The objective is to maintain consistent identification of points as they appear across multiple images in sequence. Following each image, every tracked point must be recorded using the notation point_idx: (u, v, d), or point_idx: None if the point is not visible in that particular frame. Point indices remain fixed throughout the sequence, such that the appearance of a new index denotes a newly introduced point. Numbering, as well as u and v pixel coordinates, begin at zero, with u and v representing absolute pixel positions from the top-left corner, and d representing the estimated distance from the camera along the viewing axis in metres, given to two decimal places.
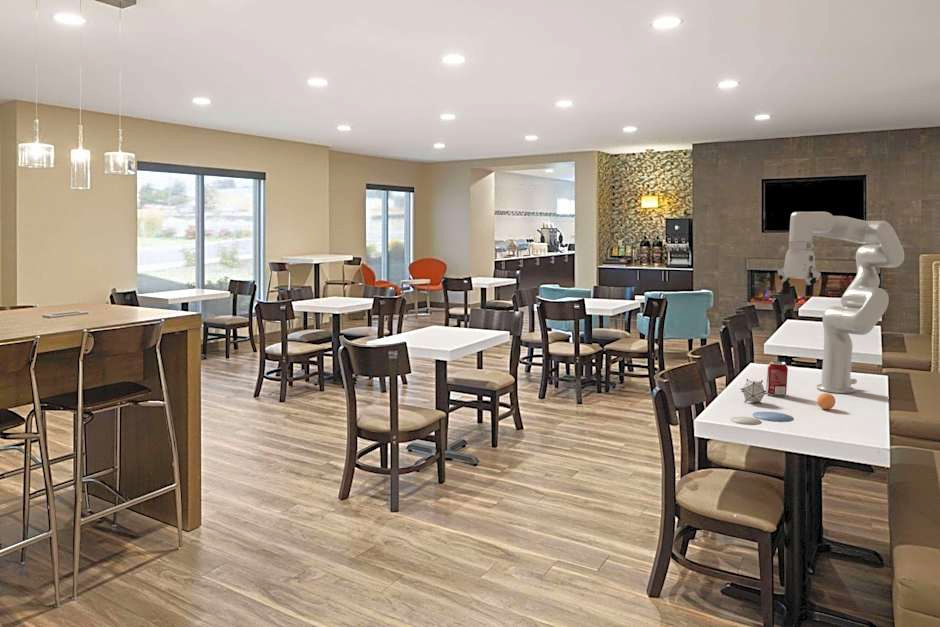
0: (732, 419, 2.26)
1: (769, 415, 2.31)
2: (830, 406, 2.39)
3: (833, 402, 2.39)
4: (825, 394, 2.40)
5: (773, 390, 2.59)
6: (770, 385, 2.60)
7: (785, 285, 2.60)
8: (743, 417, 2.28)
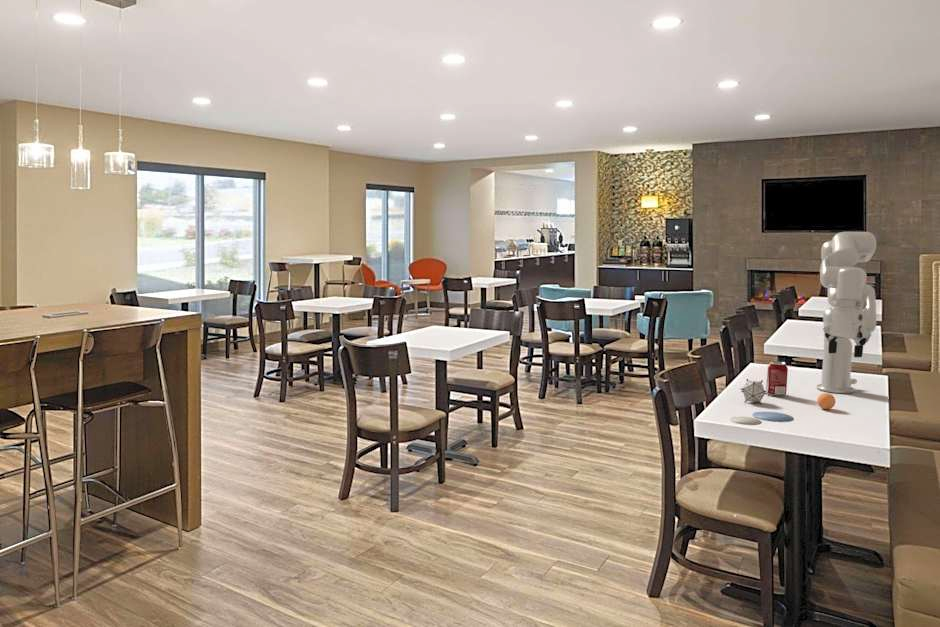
0: (732, 419, 2.26)
1: (769, 415, 2.31)
2: (830, 406, 2.39)
3: (833, 402, 2.39)
4: (825, 394, 2.40)
5: (773, 390, 2.59)
6: (770, 385, 2.60)
7: (832, 344, 2.47)
8: (743, 417, 2.28)
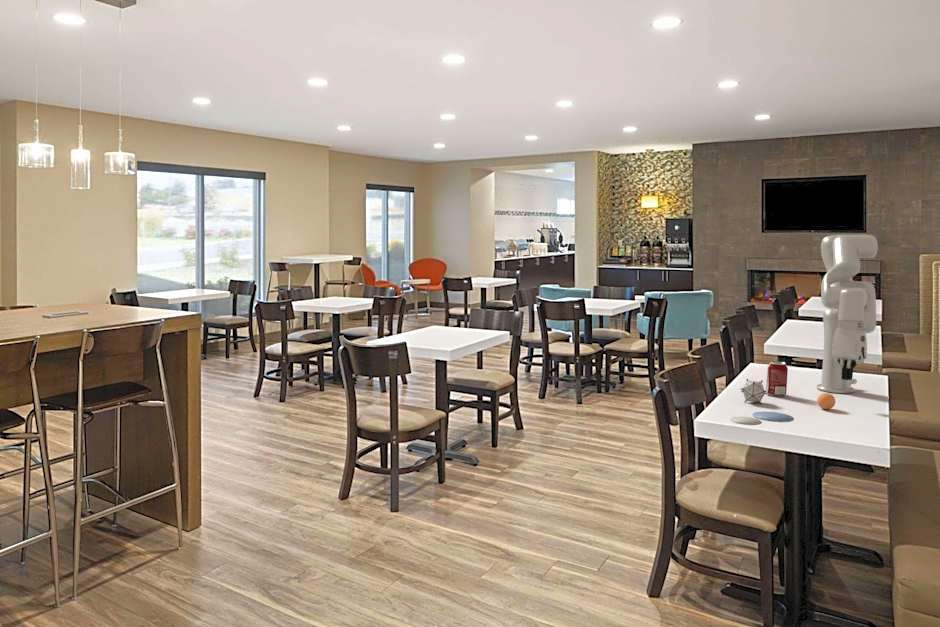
0: (732, 419, 2.26)
1: (769, 415, 2.31)
2: (830, 406, 2.39)
3: (833, 402, 2.39)
4: (825, 394, 2.40)
5: (773, 390, 2.59)
6: (770, 385, 2.60)
7: None
8: (743, 417, 2.28)
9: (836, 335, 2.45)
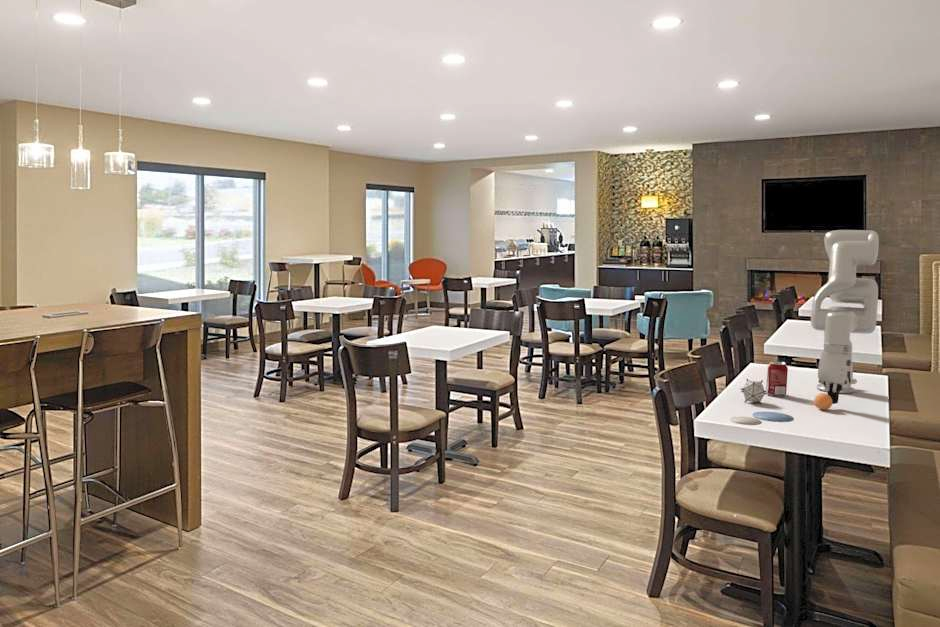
0: (732, 419, 2.26)
1: (769, 415, 2.31)
2: (828, 407, 2.38)
3: (830, 402, 2.38)
4: (821, 396, 2.39)
5: (773, 390, 2.59)
6: (770, 385, 2.60)
7: None
8: (743, 417, 2.28)
9: (822, 358, 2.43)
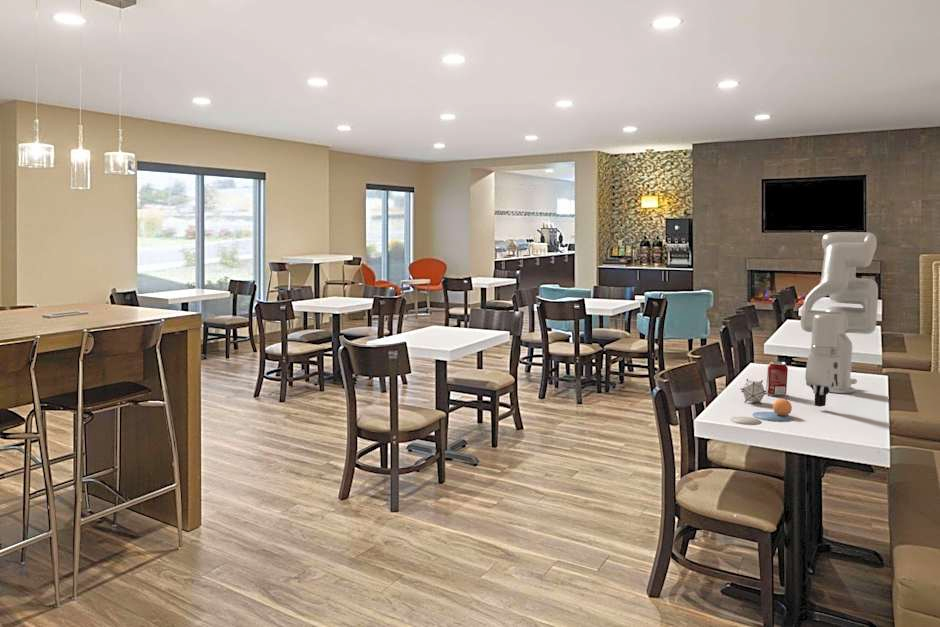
0: (732, 419, 2.26)
1: (769, 415, 2.31)
2: (789, 412, 2.30)
3: (789, 409, 2.29)
4: (777, 408, 2.30)
5: (773, 390, 2.59)
6: (770, 385, 2.60)
7: None
8: (743, 417, 2.28)
9: (809, 361, 2.40)
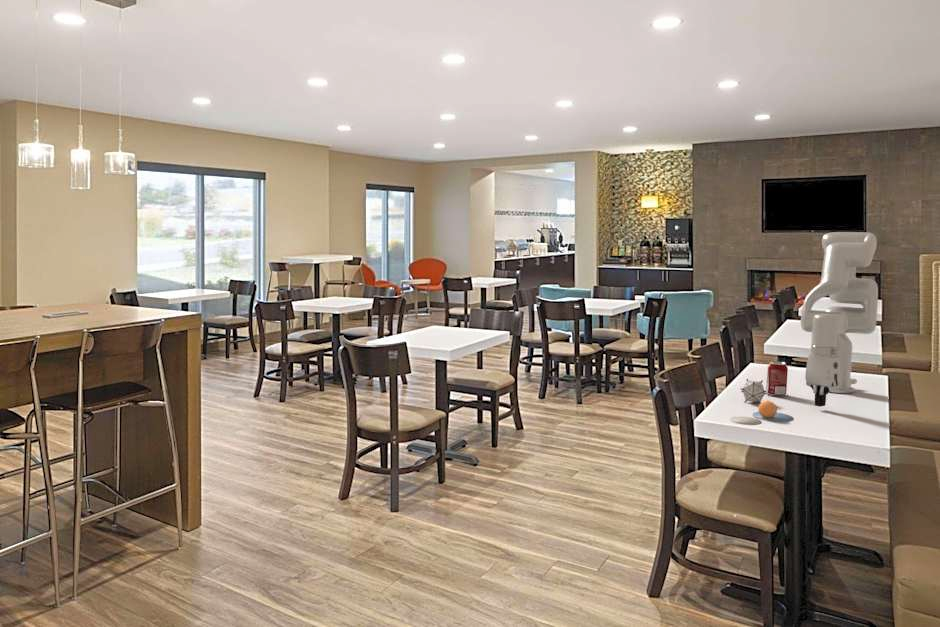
0: (732, 419, 2.26)
1: None
2: (774, 406, 2.26)
3: (774, 411, 2.26)
4: None
5: (773, 390, 2.59)
6: (770, 385, 2.60)
7: None
8: (743, 417, 2.28)
9: (809, 361, 2.40)
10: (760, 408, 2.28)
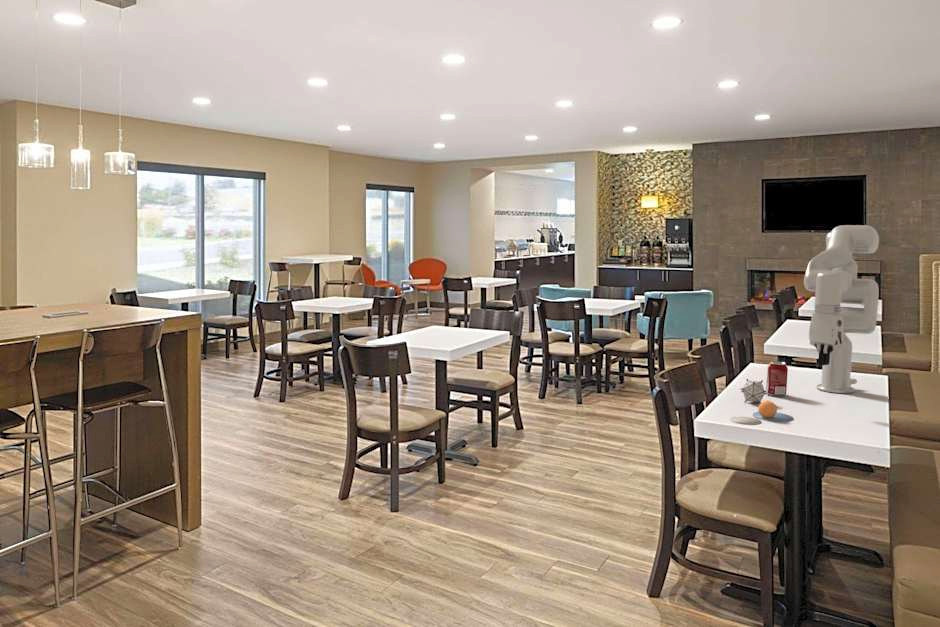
0: (732, 419, 2.26)
1: None
2: (774, 406, 2.26)
3: (774, 411, 2.26)
4: None
5: (773, 390, 2.59)
6: (770, 385, 2.60)
7: None
8: (743, 417, 2.28)
9: (813, 319, 2.39)
10: (760, 408, 2.28)
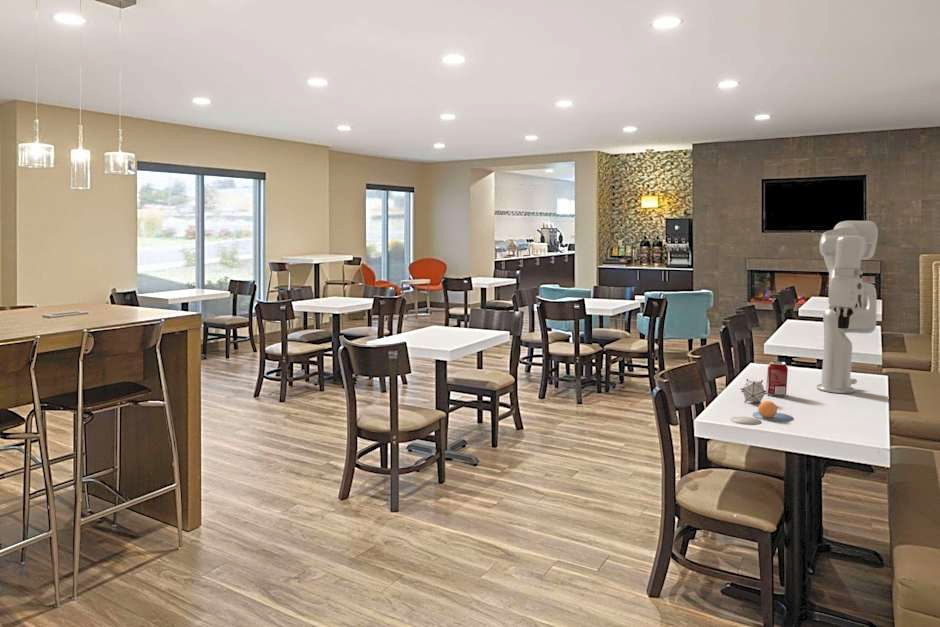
0: (732, 419, 2.26)
1: None
2: (774, 406, 2.26)
3: (774, 411, 2.26)
4: None
5: (773, 390, 2.59)
6: (770, 385, 2.60)
7: None
8: (743, 417, 2.28)
9: (832, 283, 2.41)
10: (760, 408, 2.28)
